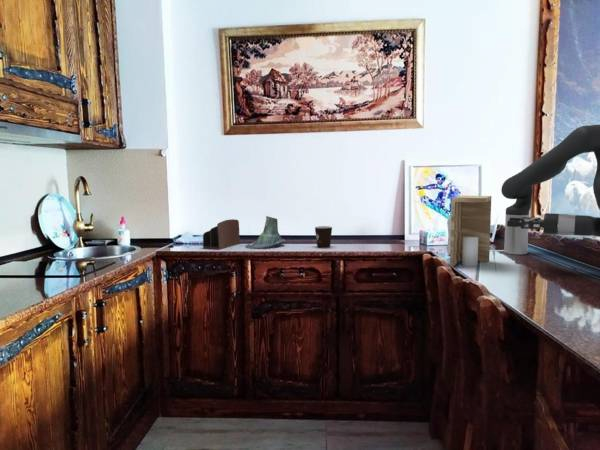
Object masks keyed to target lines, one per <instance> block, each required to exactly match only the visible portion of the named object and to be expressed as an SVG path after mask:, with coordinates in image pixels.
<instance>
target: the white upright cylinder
mask: <svg viewBox="0 0 600 450" xmlns="http://www.w3.org/2000/svg"><path fill="white" fill-rule="evenodd" d="M478 262H479V261H478V237H476V236H463V249H462V260H461V265H462V266H464V267H465V266H466V267H477V266H478Z"/></svg>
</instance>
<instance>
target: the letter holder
mask: <svg viewBox="0 0 600 450" xmlns="http://www.w3.org/2000/svg"><path fill="white" fill-rule="evenodd" d="M240 239H241V238H240V221H239V220H238V219H234V218H232V219H225V220H223V221H220V222H218V223H217V224H216V226H214V227H212V228H210V230H208V231H206V232H204V233H203V234H202V248H203V250H217V251H219V250H223V249H227V248H230V247H233V246H237V245H240V244H241V240H240Z"/></svg>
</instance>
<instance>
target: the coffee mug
mask: <svg viewBox="0 0 600 450" xmlns="http://www.w3.org/2000/svg"><path fill="white" fill-rule="evenodd" d="M314 231H315V238H316V239H315V240H316V245H317V248H318V249H327V248H331V243H332V242H331V241H332V232H333V226H329V225H328V226H325V225H324V226H323V225H321V226H315V227H314Z"/></svg>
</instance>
